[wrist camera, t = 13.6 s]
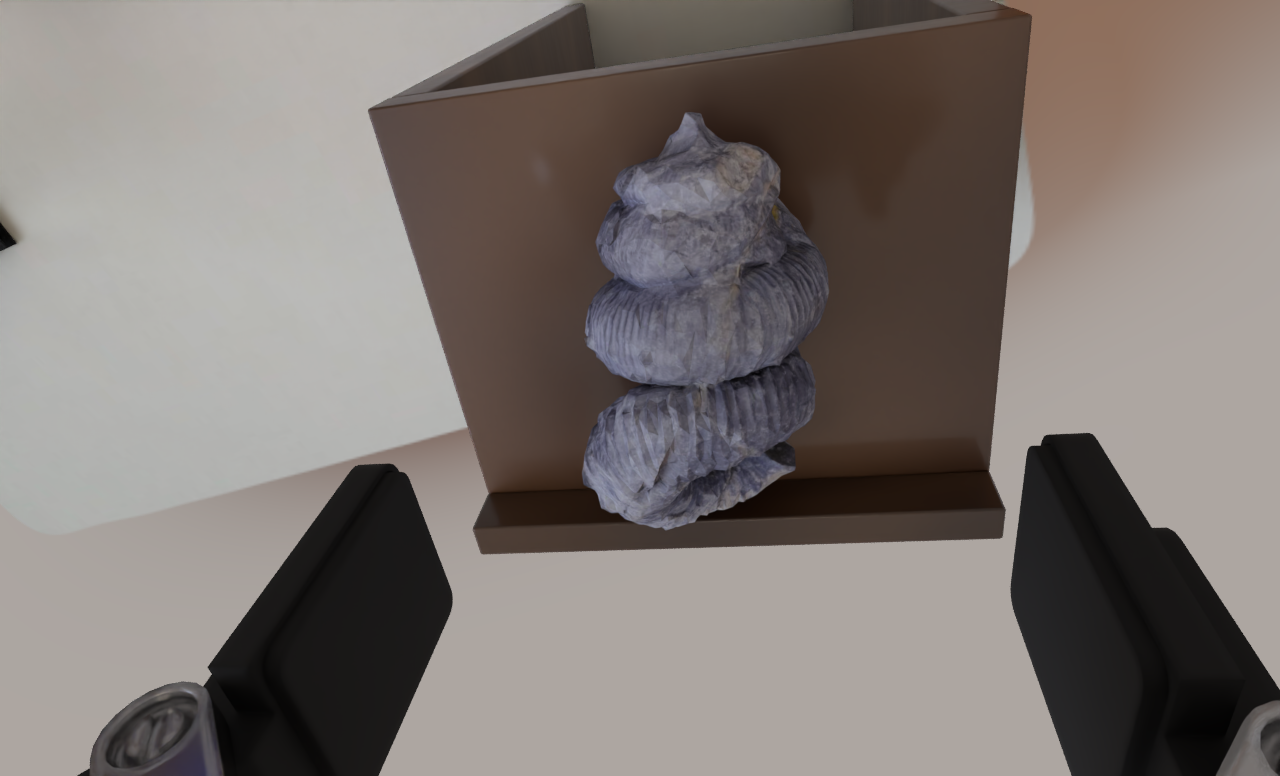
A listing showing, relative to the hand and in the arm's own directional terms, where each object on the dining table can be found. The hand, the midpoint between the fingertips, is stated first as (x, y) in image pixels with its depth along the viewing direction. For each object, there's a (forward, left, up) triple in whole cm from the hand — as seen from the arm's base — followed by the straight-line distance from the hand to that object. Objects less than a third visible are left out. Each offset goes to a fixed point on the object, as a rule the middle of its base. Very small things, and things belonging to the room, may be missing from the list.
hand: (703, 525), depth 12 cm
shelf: (0, +1, -30) cm, 30 cm away
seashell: (+1, 0, -9) cm, 9 cm away
